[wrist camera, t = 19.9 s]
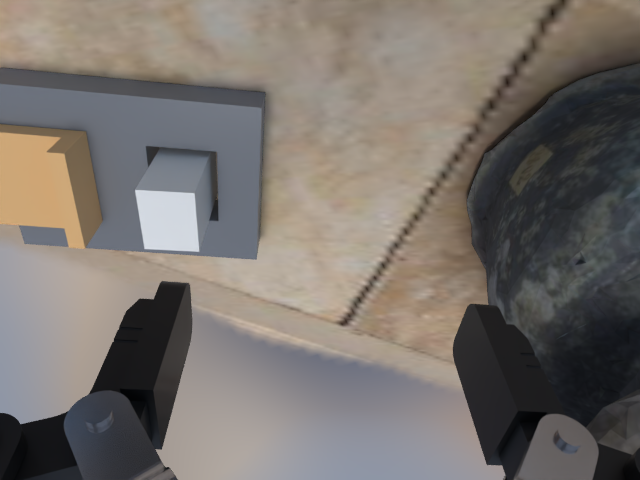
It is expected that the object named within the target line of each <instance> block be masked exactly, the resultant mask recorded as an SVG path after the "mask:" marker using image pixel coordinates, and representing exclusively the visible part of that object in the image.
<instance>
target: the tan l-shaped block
mask: <svg viewBox="0 0 640 480" xmlns="http://www.w3.org/2000/svg"><path fill="white" fill-rule="evenodd" d="M102 222H103V220H102V215H101V209H100V204H99V199H98V193H97V188H96V183H95V177H94V172H93V166H92V161H91V156H90V150H89V145H88V140H87V134H86V131H74V130H63V129H51V128H40V127H28V126H16V125H5V124H0V224H9V225H23V226H37V227H52V228H64V229H65V233H66V237H67V241H68V245H69V248H82V249H85V248H86V246H87V245H88V243H89V242H90V240H91V239H92V237H93V236H94V234H95V233H96V231H97V230H98V228H99V226H100V225H101V223H102Z"/></svg>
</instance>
